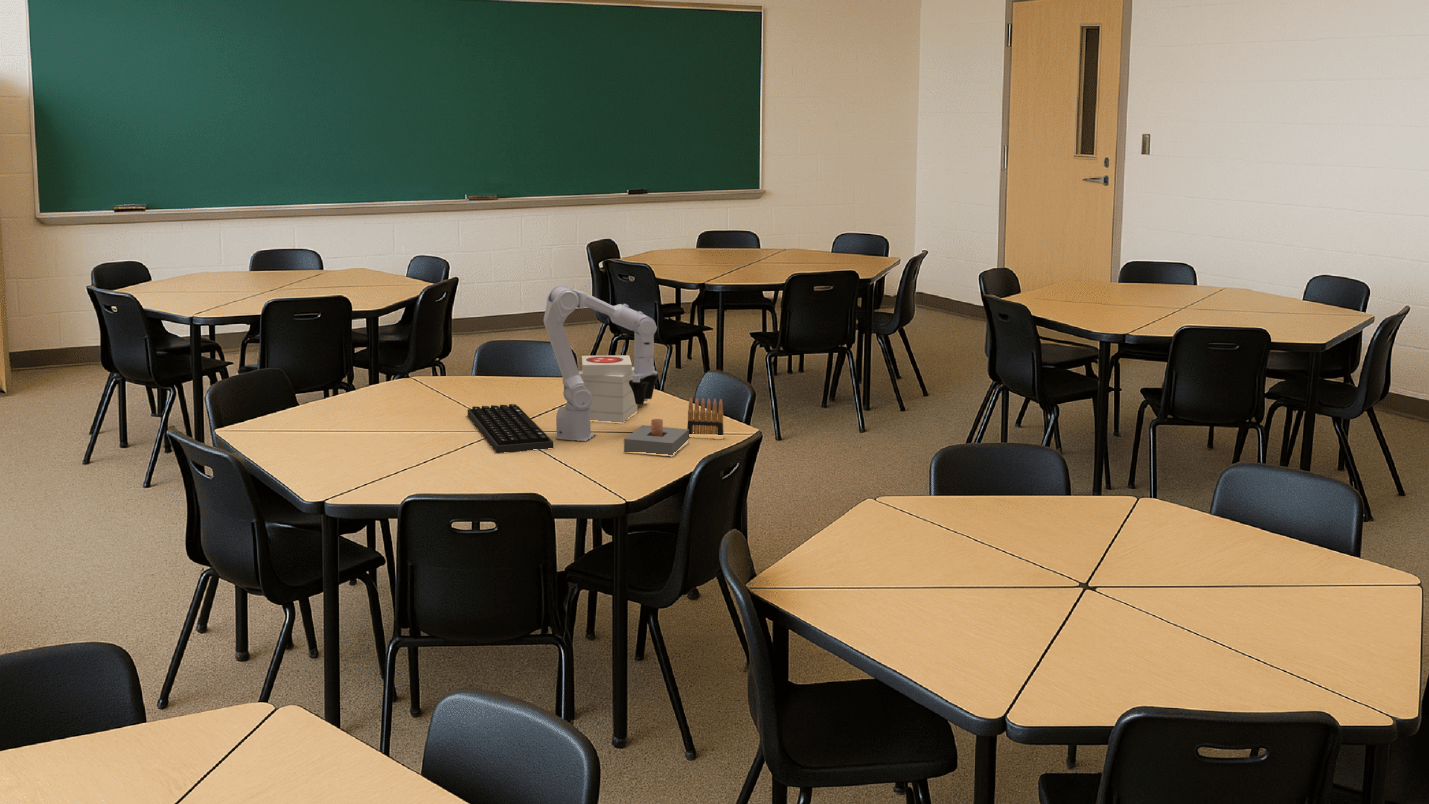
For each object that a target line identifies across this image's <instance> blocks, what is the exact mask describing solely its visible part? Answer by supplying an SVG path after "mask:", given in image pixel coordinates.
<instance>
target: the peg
mask: <svg viewBox="0 0 1429 804" xmlns="http://www.w3.org/2000/svg"><path fill="white" fill-rule="evenodd" d="M663 423H664V421H663V419H661V418H654V419H651V423H650V426H651V436H659V437H663V427H664V425H663Z"/></svg>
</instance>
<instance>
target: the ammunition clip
mask: <svg viewBox="0 0 1429 804" xmlns="http://www.w3.org/2000/svg"><path fill="white" fill-rule="evenodd" d="M699 402H700V401H699V398H698V397H696V398H695V402H694V403H693V398H692V397H690V398H689V401H688V410H687V426H686V427H687V428H686V429H689V434H692V433H693V432H694V434H699V433H700V434H705V433H706V434H718V435H723V434H724V404H723V399H722V398H720V399H719V402H717V399H716V398H714V399H713V401H712V402H711V398H708V399H707V402H706V401H705V397H702V398H701V402H700V404H699ZM705 403H706V404H705ZM711 403H712V404H711ZM717 403H718V404H717ZM717 405H718V406H717Z"/></svg>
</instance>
